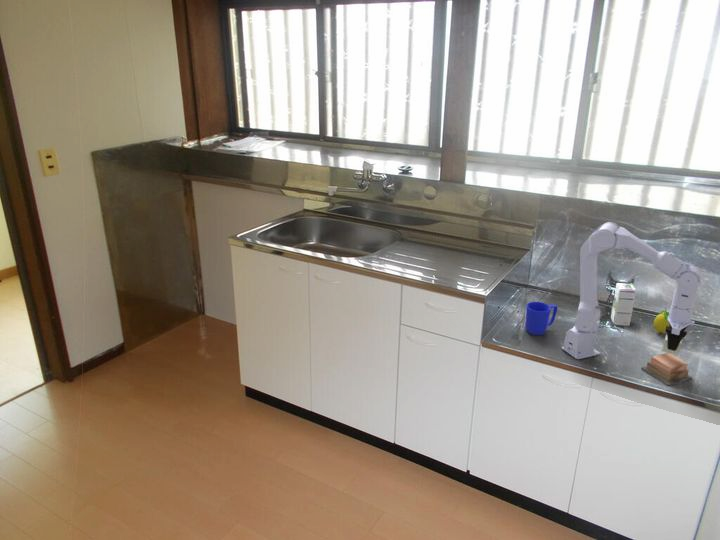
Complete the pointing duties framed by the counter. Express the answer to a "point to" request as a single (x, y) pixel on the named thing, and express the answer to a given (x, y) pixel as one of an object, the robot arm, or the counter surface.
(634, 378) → the counter surface
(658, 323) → the lemon
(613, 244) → the robot arm
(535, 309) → the mug
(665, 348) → the sage brick
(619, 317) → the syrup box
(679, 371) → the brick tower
